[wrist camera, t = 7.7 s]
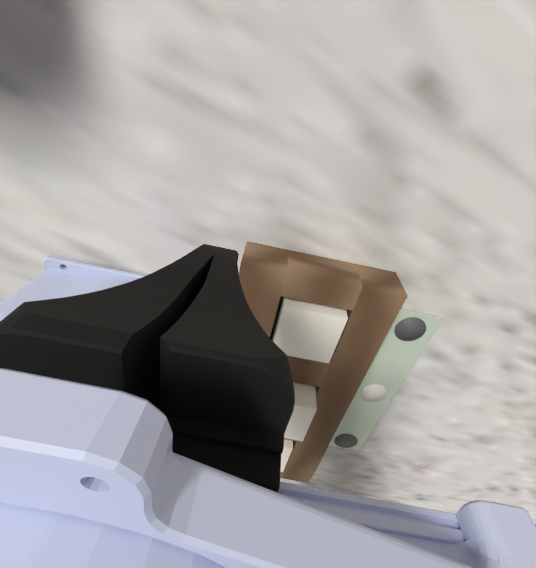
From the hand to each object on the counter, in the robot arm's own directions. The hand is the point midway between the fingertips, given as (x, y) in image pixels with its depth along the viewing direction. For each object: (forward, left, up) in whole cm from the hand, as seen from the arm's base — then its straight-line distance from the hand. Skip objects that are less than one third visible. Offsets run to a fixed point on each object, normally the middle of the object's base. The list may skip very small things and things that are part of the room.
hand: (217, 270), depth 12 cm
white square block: (+6, -8, -10) cm, 14 cm away
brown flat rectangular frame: (+6, -16, -10) cm, 20 cm away
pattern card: (+14, -16, -10) cm, 24 cm away
